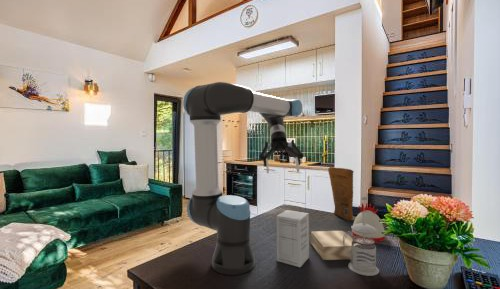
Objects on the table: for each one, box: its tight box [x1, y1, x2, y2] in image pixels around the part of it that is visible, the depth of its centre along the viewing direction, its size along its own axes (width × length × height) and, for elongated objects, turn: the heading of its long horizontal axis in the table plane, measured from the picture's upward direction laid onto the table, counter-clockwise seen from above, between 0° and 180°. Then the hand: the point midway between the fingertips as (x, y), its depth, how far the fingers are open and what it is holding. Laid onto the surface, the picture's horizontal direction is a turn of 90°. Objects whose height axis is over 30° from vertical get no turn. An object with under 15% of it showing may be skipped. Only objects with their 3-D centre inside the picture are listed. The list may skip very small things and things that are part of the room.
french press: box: [343, 195, 380, 277], centre depth 87 cm, size 10×12×25 cm
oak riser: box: [310, 230, 361, 261], centre depth 100 cm, size 14×15×5 cm
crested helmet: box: [351, 202, 386, 243], centre depth 116 cm, size 14×14×15 cm
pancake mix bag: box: [327, 166, 354, 221], centre depth 144 cm, size 7×19×28 cm, turn 17°
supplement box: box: [276, 209, 310, 268], centre depth 93 cm, size 10×9×17 cm
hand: (283, 171), depth 112 cm, fingers open, 13 cm apart
